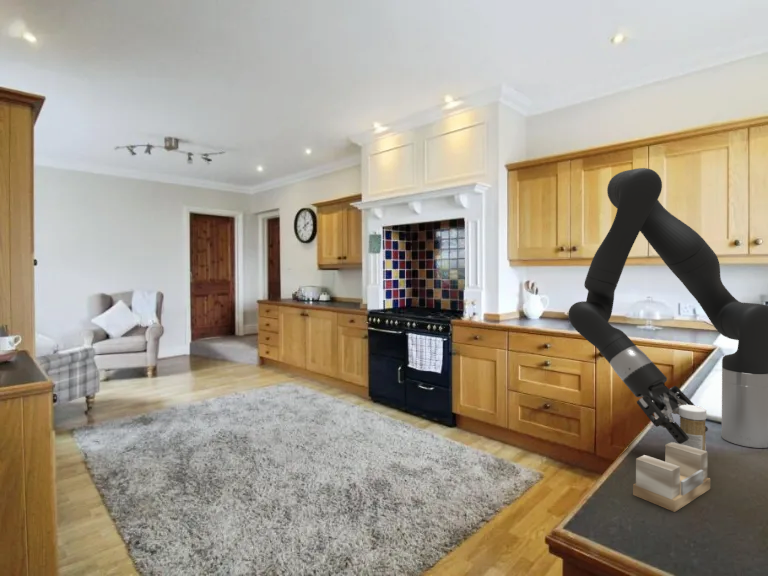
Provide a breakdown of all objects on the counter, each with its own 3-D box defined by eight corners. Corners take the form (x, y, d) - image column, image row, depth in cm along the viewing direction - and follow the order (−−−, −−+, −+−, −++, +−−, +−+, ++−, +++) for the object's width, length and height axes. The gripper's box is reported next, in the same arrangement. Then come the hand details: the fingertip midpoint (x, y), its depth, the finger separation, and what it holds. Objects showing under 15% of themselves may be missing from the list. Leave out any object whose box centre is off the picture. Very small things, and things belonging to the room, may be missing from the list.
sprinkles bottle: (710, 473, 88) (710, 407, 88) (700, 479, 86) (700, 412, 85) (684, 465, 92) (684, 402, 91) (674, 470, 89) (675, 406, 89)
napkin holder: (669, 474, 88) (669, 440, 87) (710, 488, 82) (710, 452, 82) (633, 494, 80) (633, 457, 80) (674, 512, 74) (674, 472, 74)
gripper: (632, 365, 91) (693, 435, 82) (665, 357, 99) (725, 421, 90) (607, 385, 96) (663, 453, 87) (641, 376, 103) (695, 438, 94)
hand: (694, 437), depth 88 cm, fingers open, 8 cm apart
